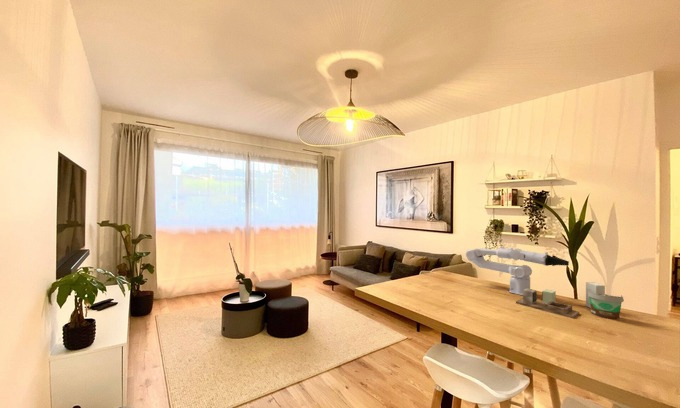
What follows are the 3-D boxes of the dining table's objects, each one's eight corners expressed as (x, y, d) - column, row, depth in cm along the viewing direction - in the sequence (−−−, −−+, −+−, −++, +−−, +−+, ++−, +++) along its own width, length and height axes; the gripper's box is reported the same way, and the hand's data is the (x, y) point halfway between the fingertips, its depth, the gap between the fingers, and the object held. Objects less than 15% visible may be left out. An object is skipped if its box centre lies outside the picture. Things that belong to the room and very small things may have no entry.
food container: (591, 316, 124) (591, 294, 124) (587, 312, 130) (587, 291, 130) (629, 322, 118) (629, 299, 119) (622, 317, 124) (623, 295, 124)
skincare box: (605, 310, 132) (605, 285, 132) (596, 310, 132) (596, 285, 132) (593, 306, 138) (594, 282, 138) (585, 306, 138) (585, 282, 138)
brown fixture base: (515, 303, 141) (515, 289, 141) (523, 299, 146) (523, 286, 146) (573, 318, 122) (573, 302, 122) (579, 313, 128) (579, 298, 128)
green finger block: (541, 302, 143) (541, 290, 143) (545, 300, 146) (545, 289, 146) (552, 304, 139) (552, 292, 139) (555, 302, 142) (555, 291, 142)
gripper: (531, 249, 148) (562, 255, 137) (540, 251, 156) (571, 256, 146) (529, 263, 147) (561, 269, 137) (539, 263, 156) (569, 269, 145)
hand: (566, 263), depth 141 cm, fingers open, 7 cm apart
